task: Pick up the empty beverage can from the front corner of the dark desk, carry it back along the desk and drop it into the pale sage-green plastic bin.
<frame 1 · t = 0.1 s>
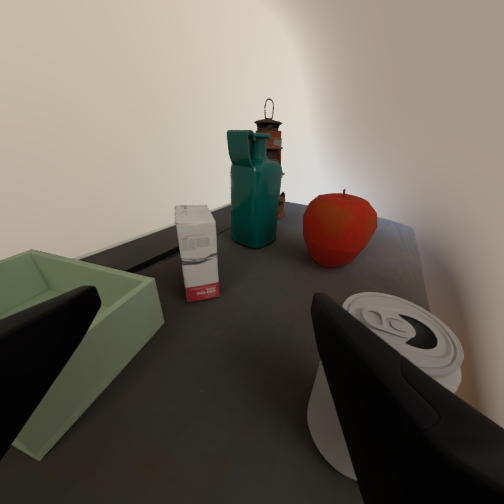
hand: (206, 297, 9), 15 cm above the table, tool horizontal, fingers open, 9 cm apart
bin: (48, 345, 23), on the table
pitcher: (251, 241, 49), on the table
beverage can: (344, 431, 17), on the table
lantern: (264, 214, 68), on the table
apple: (328, 263, 41), on the table
ink box: (200, 284, 34), on the table
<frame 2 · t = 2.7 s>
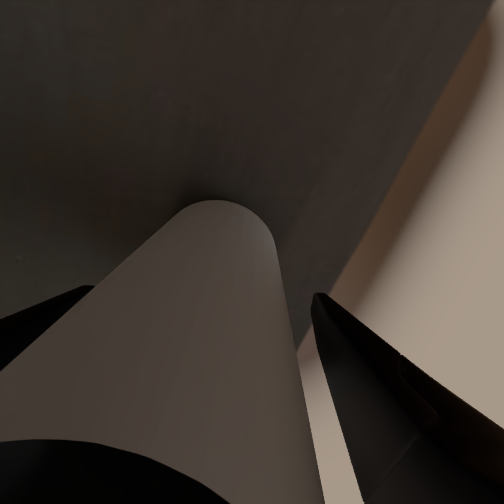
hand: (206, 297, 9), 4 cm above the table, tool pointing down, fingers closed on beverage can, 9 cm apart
beverage can: (221, 248, 13), on the table, touching gripper
when the fingers open (6 cm above the table, at t = 9.0 s): beverage can stays where it is, resting on bin.
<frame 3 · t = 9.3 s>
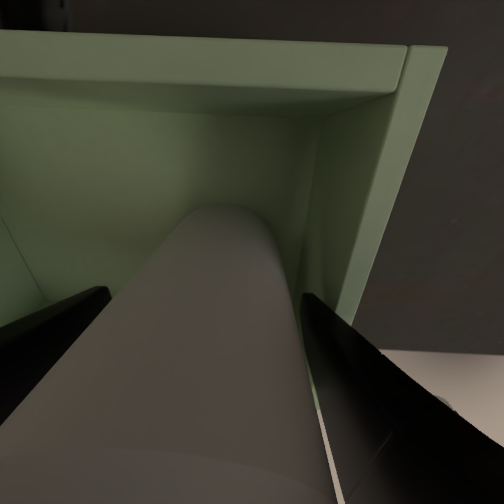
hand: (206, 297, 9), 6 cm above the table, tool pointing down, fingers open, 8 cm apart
bin: (159, 225, 13), on the table
beverage can: (226, 249, 13), point 1 cm above the table, touching bin
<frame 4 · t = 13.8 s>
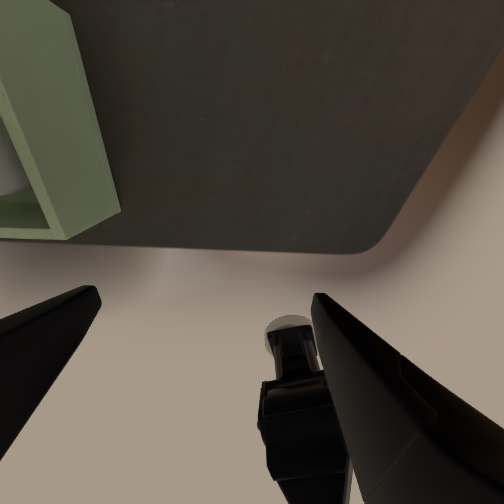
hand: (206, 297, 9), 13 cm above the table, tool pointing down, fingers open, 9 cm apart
beverage can: (33, 144, 17), point 1 cm above the table, touching bin
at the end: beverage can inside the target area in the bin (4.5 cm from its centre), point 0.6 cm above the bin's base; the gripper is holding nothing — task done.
